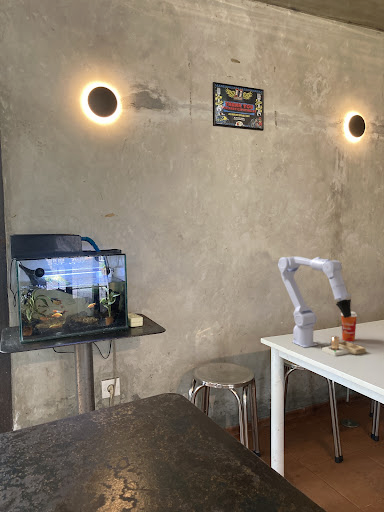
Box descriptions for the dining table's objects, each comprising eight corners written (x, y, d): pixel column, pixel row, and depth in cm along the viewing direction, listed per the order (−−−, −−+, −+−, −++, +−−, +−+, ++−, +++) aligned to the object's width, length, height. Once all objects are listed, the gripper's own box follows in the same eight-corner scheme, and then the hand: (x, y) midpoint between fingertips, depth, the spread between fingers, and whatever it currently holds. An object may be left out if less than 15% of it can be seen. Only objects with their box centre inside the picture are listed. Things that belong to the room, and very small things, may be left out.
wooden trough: (335, 347, 180) (335, 342, 180) (345, 345, 183) (345, 341, 183) (355, 355, 169) (355, 350, 169) (365, 352, 172) (365, 348, 172)
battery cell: (329, 351, 174) (329, 335, 174) (334, 350, 176) (335, 334, 175) (334, 353, 172) (335, 337, 171) (340, 352, 173) (340, 336, 172)
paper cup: (337, 340, 192) (338, 312, 191) (344, 336, 197) (344, 310, 196) (353, 343, 186) (353, 315, 185) (359, 339, 192) (360, 312, 191)
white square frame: (321, 350, 176) (321, 346, 176) (335, 348, 179) (335, 344, 179) (334, 356, 168) (334, 351, 168) (348, 353, 172) (348, 349, 172)
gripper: (349, 282, 160) (359, 314, 157) (346, 286, 174) (355, 315, 171) (332, 286, 162) (341, 318, 159) (330, 290, 176) (339, 319, 172)
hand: (347, 317), depth 165 cm, fingers open, 7 cm apart
